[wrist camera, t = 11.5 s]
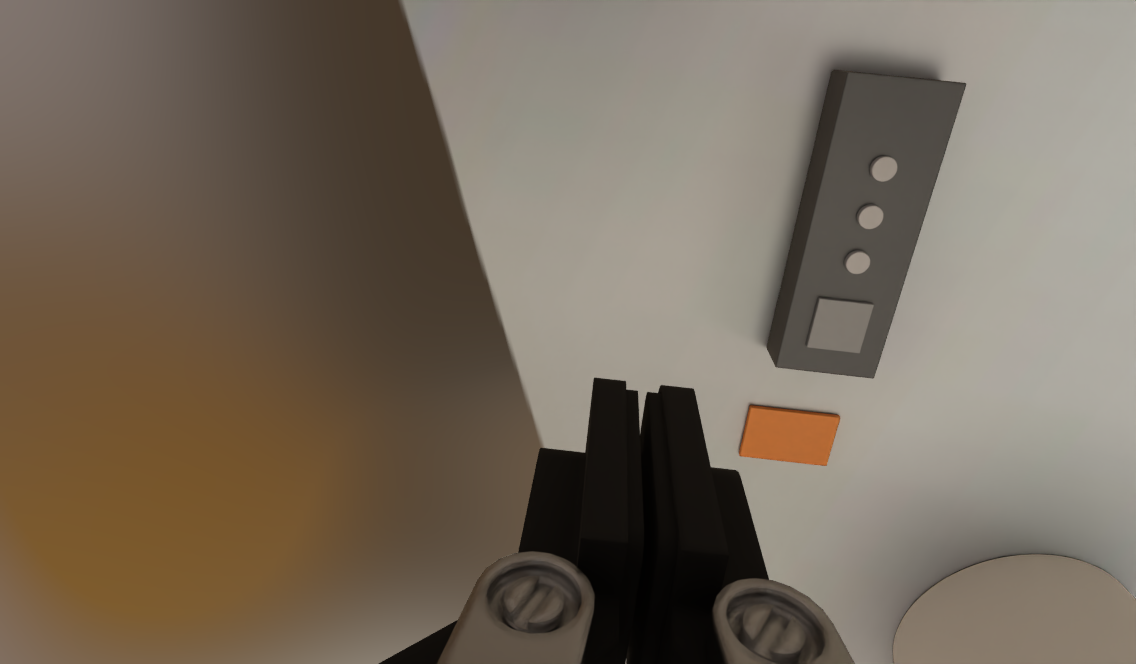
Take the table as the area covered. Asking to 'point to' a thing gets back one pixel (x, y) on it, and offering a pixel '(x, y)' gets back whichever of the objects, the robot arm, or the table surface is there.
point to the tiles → (788, 435)
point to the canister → (1021, 616)
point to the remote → (860, 219)
